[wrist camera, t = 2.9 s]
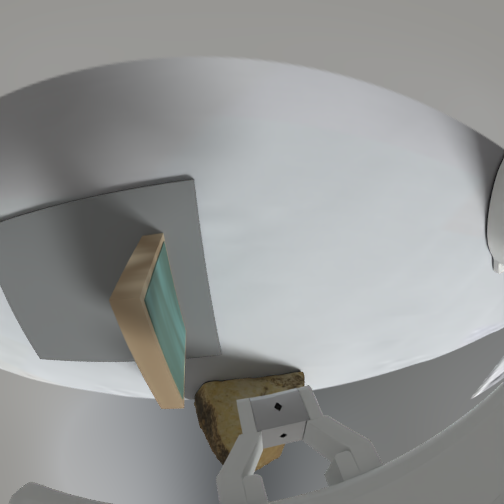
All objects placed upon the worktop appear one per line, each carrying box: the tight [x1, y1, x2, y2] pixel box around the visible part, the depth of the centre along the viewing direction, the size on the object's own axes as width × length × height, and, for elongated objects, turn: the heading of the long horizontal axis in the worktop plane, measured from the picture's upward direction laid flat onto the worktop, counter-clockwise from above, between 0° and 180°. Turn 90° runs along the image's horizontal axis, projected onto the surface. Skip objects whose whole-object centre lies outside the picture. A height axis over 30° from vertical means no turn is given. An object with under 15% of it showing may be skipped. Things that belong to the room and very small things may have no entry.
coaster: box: [109, 233, 186, 409], centre depth 15 cm, size 2×8×7 cm, turn 3°
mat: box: [0, 179, 221, 362], centre depth 17 cm, size 19×14×1 cm
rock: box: [194, 372, 305, 471], centre depth 22 cm, size 11×9×10 cm
